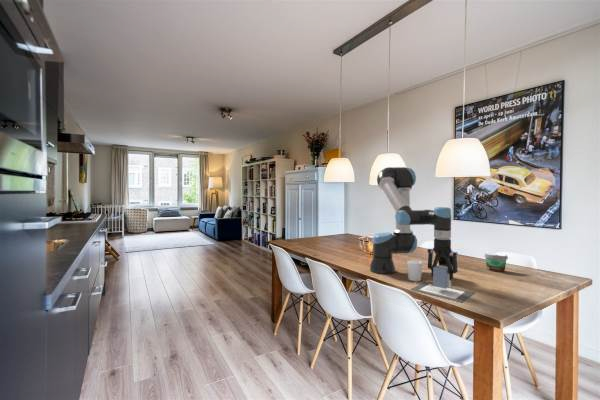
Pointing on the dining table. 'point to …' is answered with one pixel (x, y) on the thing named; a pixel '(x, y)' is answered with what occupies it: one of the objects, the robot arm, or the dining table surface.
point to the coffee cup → (443, 262)
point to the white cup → (414, 270)
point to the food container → (496, 262)
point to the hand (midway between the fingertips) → (442, 284)
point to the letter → (442, 291)
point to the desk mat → (458, 299)
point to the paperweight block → (440, 276)
